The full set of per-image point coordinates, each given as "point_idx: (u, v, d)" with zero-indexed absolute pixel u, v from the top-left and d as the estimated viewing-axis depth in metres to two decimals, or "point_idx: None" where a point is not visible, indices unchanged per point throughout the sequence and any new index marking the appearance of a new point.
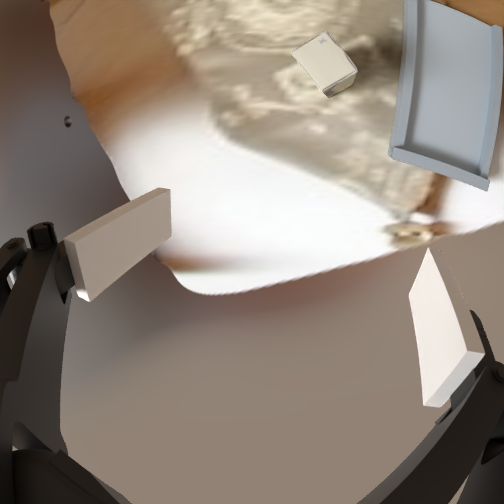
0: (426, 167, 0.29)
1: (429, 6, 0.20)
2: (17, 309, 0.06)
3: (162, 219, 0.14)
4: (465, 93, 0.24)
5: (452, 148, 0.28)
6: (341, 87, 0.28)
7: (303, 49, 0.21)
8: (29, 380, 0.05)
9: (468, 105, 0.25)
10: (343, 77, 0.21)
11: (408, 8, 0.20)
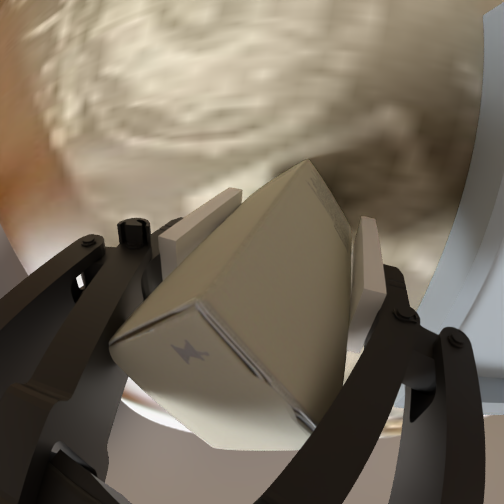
0: None
1: None
2: (88, 313, 0.06)
3: None
4: None
5: None
6: None
7: (129, 357, 0.06)
8: (84, 397, 0.05)
9: None
10: (279, 448, 0.06)
11: None
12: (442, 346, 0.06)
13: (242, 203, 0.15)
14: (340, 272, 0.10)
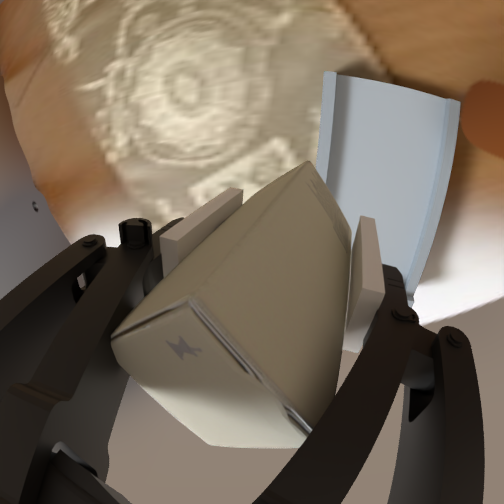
0: None
1: (356, 87, 0.24)
2: (89, 313, 0.06)
3: None
4: (395, 202, 0.28)
5: None
6: None
7: (126, 353, 0.06)
8: (85, 397, 0.05)
9: (398, 216, 0.28)
10: (273, 446, 0.06)
11: (322, 102, 0.24)
12: (441, 346, 0.06)
13: (243, 204, 0.15)
14: (338, 273, 0.10)
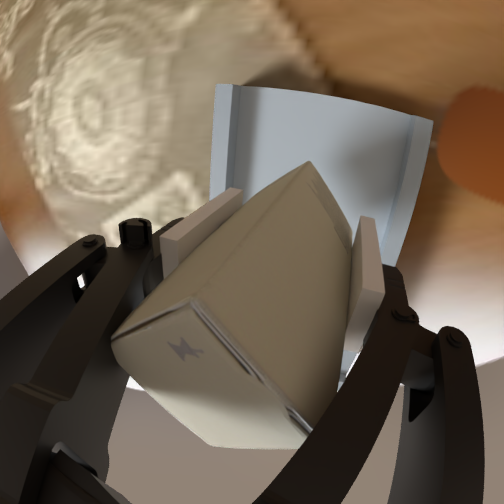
0: None
1: (267, 103, 0.18)
2: (89, 313, 0.06)
3: None
4: None
5: None
6: None
7: (128, 353, 0.06)
8: (85, 397, 0.05)
9: None
10: (274, 446, 0.06)
11: (214, 129, 0.18)
12: (441, 346, 0.06)
13: (244, 204, 0.15)
14: (339, 274, 0.10)
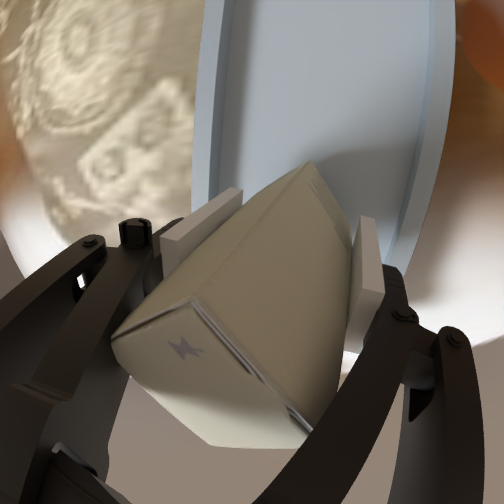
0: None
1: None
2: (89, 313, 0.06)
3: None
4: (345, 164, 0.15)
5: None
6: None
7: (128, 353, 0.06)
8: (85, 397, 0.05)
9: (352, 190, 0.16)
10: (274, 446, 0.06)
11: (207, 5, 0.12)
12: (441, 345, 0.06)
13: (244, 204, 0.15)
14: (339, 273, 0.10)
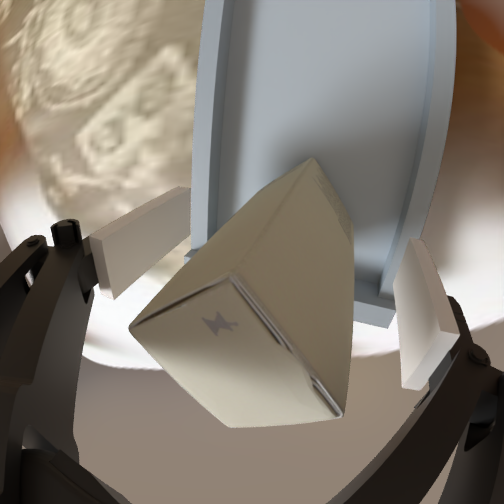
0: None
1: None
2: (36, 308, 0.06)
3: (182, 218, 0.15)
4: (354, 116, 0.14)
5: None
6: None
7: (156, 335, 0.07)
8: (44, 383, 0.05)
9: (362, 143, 0.14)
10: (293, 422, 0.07)
11: None
12: None
13: (251, 198, 0.16)
14: (345, 262, 0.11)
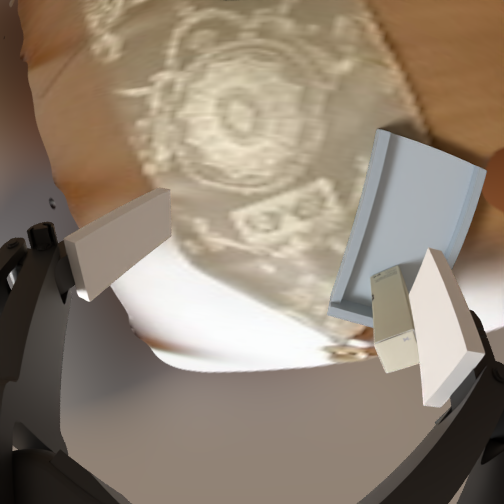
0: (358, 322, 0.36)
1: (403, 146, 0.27)
2: (17, 309, 0.06)
3: (162, 219, 0.14)
4: (419, 248, 0.32)
5: None
6: None
7: (386, 344, 0.24)
8: (29, 380, 0.05)
9: (419, 260, 0.32)
10: (409, 365, 0.24)
11: (374, 157, 0.28)
12: None
13: (373, 284, 0.33)
14: None
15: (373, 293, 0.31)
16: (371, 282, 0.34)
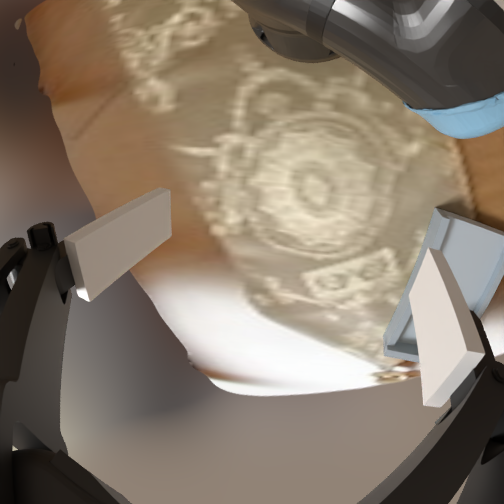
0: (407, 359, 0.40)
1: (456, 227, 0.31)
2: (17, 309, 0.06)
3: (162, 219, 0.14)
4: None
5: None
6: None
7: None
8: (29, 380, 0.05)
9: None
10: None
11: (434, 239, 0.32)
12: None
13: None
14: None
15: None
16: None
